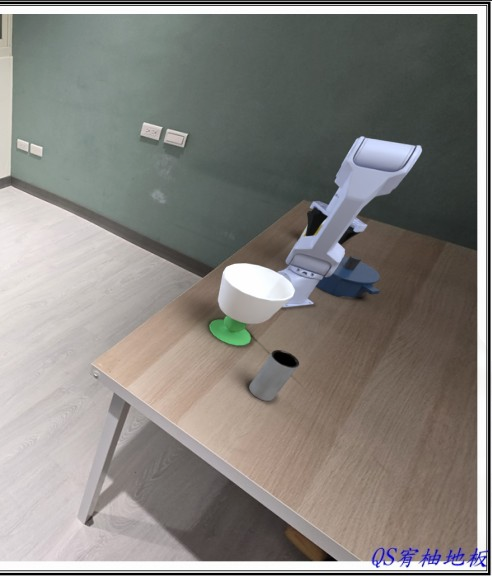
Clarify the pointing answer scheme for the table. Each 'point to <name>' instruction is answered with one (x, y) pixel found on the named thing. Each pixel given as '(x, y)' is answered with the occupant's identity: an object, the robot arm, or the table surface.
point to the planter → (273, 375)
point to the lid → (356, 271)
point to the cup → (248, 300)
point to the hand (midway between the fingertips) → (320, 242)
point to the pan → (345, 287)
